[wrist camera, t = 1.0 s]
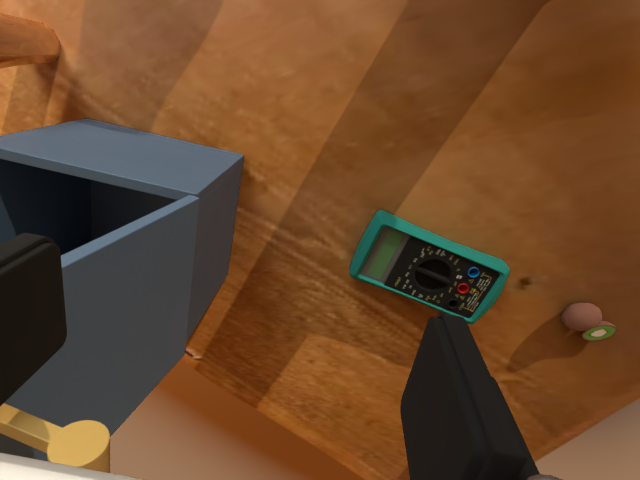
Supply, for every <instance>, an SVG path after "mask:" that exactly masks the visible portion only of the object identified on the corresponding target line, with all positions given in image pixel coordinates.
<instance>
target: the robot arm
mask: <svg viewBox="0 0 640 480" xmlns="http://www.w3.org/2000/svg"><path fill="white" fill-rule="evenodd" d="M66 337H67V325H66V313H65V301H64V289H63V277H62V265H61V252H60V248H59V246H58V245H56V244H55V242H54V241H53V239H51V238H50V237H45V236H40V235H35V234H30V233H22V234H20V235H18V236H16V237H14V238H12V239H10V240H8V241H6V242H4V243H2V244H0V406H1V405H2V404H3V403H4V402H6V401H7V400H8V399H9V398H10V397H11V396H12V395H13V394H14V393H15V392H16V391H17V390H18V389H19V388H20V387H21V386H22V385H23V384H24V383H25V382H26V381H27V380H28V379H29V378H30V377H31V376H32V375H34V374H35V373H36V372H37V371H38V370H39V369H40V368H41V367H42V366H43V365H44V364H45V363H46V362H47V361H48V360H49V359H50V358H51V357H52V356H53V355H54V354H55V353H56V352H57V351H58V350H59V349H60V348H61V347H62V346H63V345H64V343H65V340H66ZM401 419H402V426H403V432H404V439H405V446H406V453H407V460H408V467H409V474H410V480H562V479H559V478H556V477H553V476H551V475H542V474H539V471H538V470H537V467H536V465H535V463H534V461H533V459H532V456H531V454H530V452H529V450H528V448H527V446H526V444H525V441H524V439H523V437H522V435H521V433H520V431H519V429H518V426H517V424H516V422H515V420H514V418H513V416H512V414H511V411H510V409H509V407H508V405H507V403H506V401H505V399H504V396H503V394H502V392H501V390H500V388H499V386H498V384H497V382H496V380H495V379H494V378H493V377H491V376H490V373H489V371H488V369H487V367H486V365H485V362H484V360H483V358H482V356H481V354H480V351H479V349H478V347H477V345H476V343H475V340H474V338H473V336H472V334H471V332H470V329H469V327H468V325H467V323H466V321H465V319H464V318H463V317H461V316H456V315H450V314H445V313H439V314H438V315H437V317H436V318H435V317H430V318H429V320H428V323H427V326H426V329H425V331H424V334H423V337H422V340H421V343H420V346H419V349H418V352H417V355H416V358H415V361H414V364H413V367H412V370H411V372H410V375H409V378H408V381H407V384H406V387H405V390H404V393H403V396H402V400H401ZM0 480H143V479H138V478H133V477H128V476H122V475H117V474H112V473H107V472H101V471H96V470H91V469H85V468H80V467H75V466H69V465H64V464H59V463H53V462H48V461H43V460H37V459H32V458H27V457H21V456H16V455H10V454H5V453H0Z"/></svg>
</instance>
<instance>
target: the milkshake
mask: <svg viewBox="0 0 640 480" xmlns="http://www.w3.org/2000/svg"><path fill="white" fill-rule="evenodd" d="M59 54H60V41H59V40H58V38H57V36H56V34H55V32H54V31H53V30H52V29H51V28H49V27H48V26H46V25H45V24H43V23H41V22H36V21H32V20H28V19H23V18H19V17H15V16H11V15H6V14H2V13H0V69H1V68H7V67H13V66H20V65H28V64H37V63H45V62H53V61H54V60H55V59H56V58H57V56H58V55H59Z"/></svg>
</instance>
